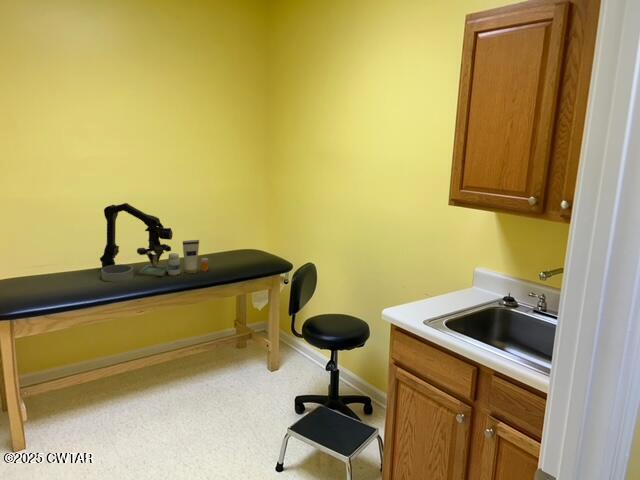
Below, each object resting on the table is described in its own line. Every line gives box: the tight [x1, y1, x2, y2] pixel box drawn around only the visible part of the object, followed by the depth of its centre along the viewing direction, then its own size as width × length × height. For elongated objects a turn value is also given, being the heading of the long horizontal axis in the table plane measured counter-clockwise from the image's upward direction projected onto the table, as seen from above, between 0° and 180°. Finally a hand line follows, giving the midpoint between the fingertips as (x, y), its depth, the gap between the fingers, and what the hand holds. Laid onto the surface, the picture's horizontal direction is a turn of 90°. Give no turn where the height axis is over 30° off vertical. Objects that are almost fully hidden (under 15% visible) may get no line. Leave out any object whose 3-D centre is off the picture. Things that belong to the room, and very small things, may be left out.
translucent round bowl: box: [100, 263, 134, 283], centre depth 259 cm, size 17×17×6 cm
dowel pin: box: [151, 253, 158, 268], centre depth 271 cm, size 3×3×8 cm
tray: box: [138, 264, 168, 277], centre depth 272 cm, size 14×12×2 cm
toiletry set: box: [166, 239, 209, 276], centre depth 275 cm, size 25×8×20 cm, turn 120°
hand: (154, 263), depth 271 cm, fingers closed on dowel pin, 3 cm apart
